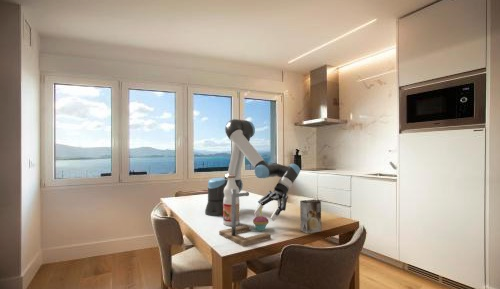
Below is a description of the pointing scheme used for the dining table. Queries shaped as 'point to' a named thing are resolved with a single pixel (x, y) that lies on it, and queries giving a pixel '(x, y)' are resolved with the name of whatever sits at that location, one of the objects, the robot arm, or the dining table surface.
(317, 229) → the coffee box
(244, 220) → the dining table surface
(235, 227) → the hook post
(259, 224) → the cupcake
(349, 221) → the dining table surface
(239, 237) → the wooden u-shaped base
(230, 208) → the fruit juice
